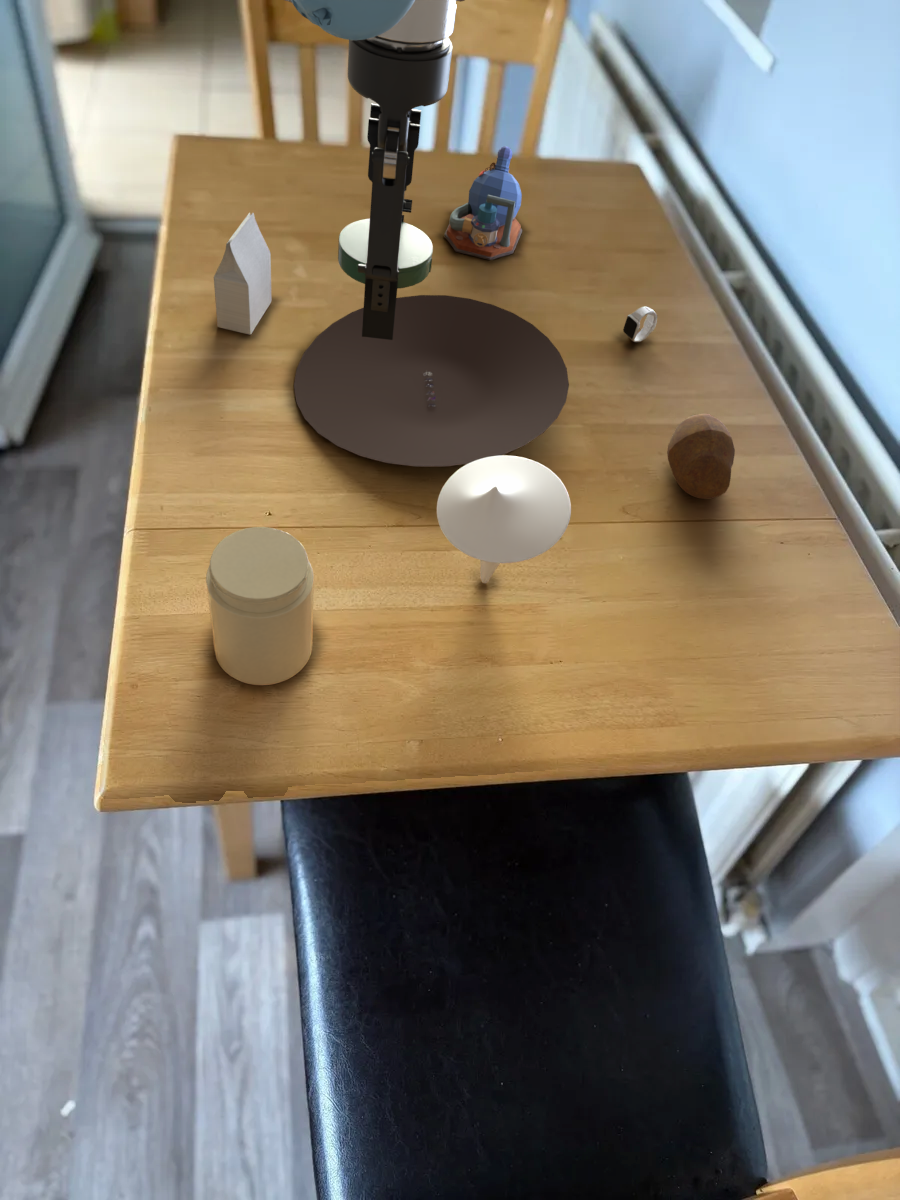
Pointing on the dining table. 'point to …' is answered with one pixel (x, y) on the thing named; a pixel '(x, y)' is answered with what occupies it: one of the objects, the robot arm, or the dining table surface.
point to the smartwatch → (634, 324)
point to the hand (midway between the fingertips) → (380, 307)
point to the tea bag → (243, 279)
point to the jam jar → (261, 605)
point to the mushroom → (503, 510)
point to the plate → (432, 383)
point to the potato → (702, 456)
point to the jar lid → (410, 259)
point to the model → (488, 213)
